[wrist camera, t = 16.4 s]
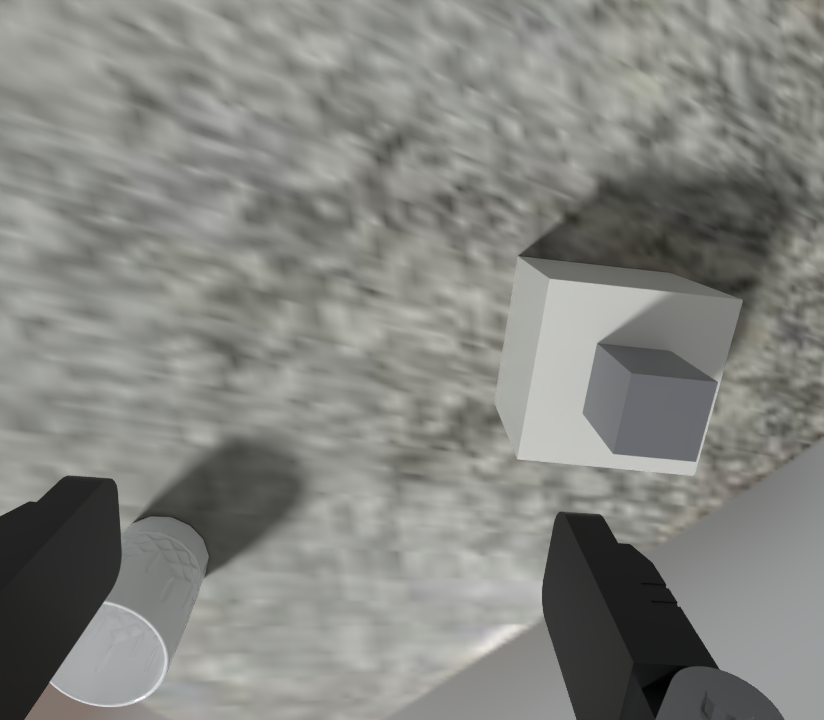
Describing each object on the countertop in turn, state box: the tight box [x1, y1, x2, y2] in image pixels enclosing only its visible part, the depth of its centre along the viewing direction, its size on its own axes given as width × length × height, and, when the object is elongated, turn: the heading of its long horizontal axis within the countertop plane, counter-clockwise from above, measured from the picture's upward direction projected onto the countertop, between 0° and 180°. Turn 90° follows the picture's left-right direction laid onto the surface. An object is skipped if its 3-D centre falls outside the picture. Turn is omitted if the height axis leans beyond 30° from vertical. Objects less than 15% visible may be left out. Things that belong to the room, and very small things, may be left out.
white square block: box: [494, 256, 743, 476], centre depth 34 cm, size 10×10×14 cm
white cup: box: [50, 516, 209, 707], centre depth 41 cm, size 8×8×10 cm
